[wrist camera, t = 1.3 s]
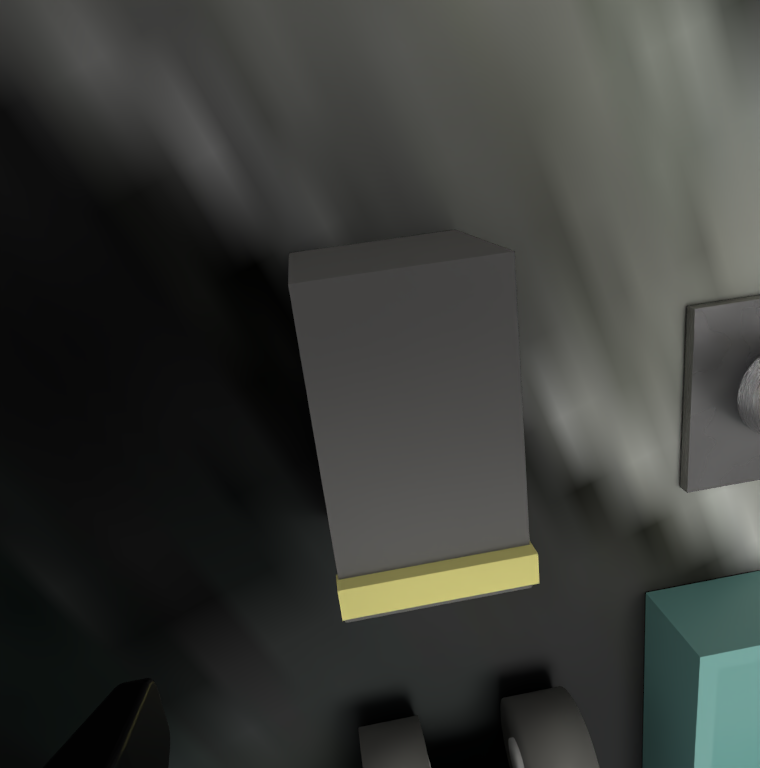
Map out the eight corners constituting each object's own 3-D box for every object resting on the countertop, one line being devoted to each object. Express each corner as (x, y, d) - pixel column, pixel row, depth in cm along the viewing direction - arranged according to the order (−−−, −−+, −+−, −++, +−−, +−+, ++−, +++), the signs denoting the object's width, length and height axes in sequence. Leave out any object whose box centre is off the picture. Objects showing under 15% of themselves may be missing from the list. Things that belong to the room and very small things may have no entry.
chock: (331, 514, 20) (344, 635, 15) (287, 252, 17) (285, 288, 12) (477, 488, 20) (539, 597, 15) (455, 228, 17) (523, 253, 12)
